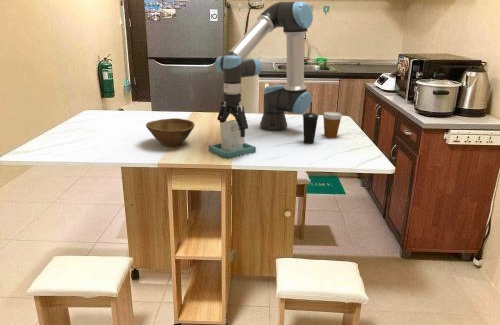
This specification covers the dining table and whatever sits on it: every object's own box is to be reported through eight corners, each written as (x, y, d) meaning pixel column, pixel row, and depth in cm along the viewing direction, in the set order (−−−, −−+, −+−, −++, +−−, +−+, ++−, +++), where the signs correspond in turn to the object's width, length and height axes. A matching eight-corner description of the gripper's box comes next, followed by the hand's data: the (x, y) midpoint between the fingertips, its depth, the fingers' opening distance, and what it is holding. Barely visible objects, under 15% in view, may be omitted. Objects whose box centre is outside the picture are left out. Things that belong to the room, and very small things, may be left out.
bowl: (155, 154, 179) (153, 132, 176) (142, 140, 198) (141, 120, 195) (201, 147, 189) (201, 127, 185) (185, 135, 208) (184, 116, 204)
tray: (208, 150, 184) (208, 145, 184) (237, 144, 194) (237, 139, 193) (226, 159, 174) (226, 153, 173) (255, 152, 183) (255, 146, 183)
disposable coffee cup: (339, 139, 205) (342, 116, 200) (320, 138, 206) (322, 115, 202) (339, 134, 213) (342, 112, 209) (321, 133, 215) (323, 111, 211)
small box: (233, 146, 189) (233, 119, 184) (243, 149, 185) (243, 122, 180) (220, 150, 183) (220, 122, 179) (230, 153, 179) (230, 125, 175)
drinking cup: (317, 141, 201) (320, 101, 195) (315, 145, 195) (318, 104, 188) (302, 139, 204) (305, 100, 197) (299, 143, 197) (301, 102, 190)
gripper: (209, 89, 182) (210, 134, 189) (242, 98, 163) (242, 148, 171) (223, 87, 186) (223, 132, 193) (257, 96, 168) (256, 145, 175)
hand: (232, 140), depth 182 cm, fingers open, 13 cm apart
